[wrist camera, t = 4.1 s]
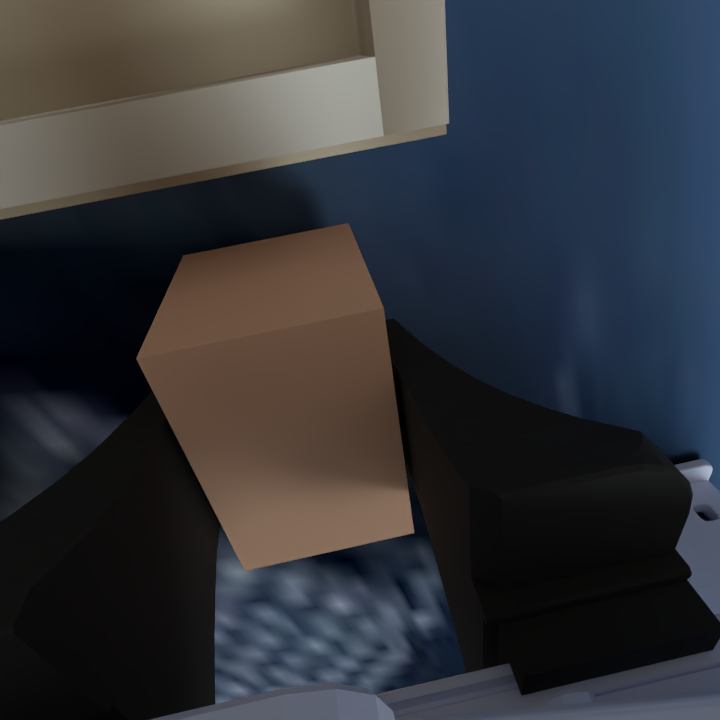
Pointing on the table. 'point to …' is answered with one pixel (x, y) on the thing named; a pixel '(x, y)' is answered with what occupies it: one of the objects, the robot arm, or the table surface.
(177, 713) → the robot arm
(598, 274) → the table surface
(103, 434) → the table surface
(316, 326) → the keyed block
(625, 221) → the table surface
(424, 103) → the stand
